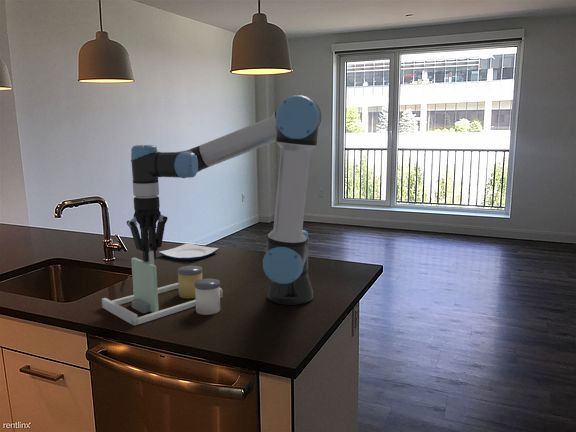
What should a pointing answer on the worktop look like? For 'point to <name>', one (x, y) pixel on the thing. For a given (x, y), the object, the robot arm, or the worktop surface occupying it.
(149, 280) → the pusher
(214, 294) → the cream jar
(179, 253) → the plate
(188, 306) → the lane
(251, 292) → the worktop surface
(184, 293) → the amber jar
